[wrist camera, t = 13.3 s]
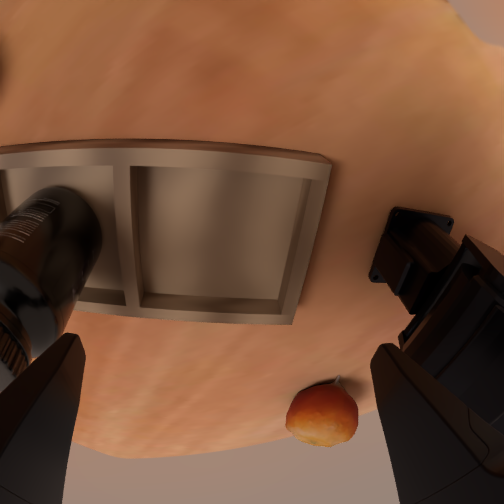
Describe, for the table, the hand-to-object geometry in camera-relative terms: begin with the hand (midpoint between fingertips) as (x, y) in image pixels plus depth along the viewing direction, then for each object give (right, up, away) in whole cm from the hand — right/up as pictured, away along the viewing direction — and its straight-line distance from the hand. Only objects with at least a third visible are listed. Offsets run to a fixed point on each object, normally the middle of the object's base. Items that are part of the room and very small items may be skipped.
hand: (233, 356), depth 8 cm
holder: (-7, +5, +12) cm, 15 cm away
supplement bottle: (-13, +5, +11) cm, 17 cm away
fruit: (+8, -13, +25) cm, 29 cm away
